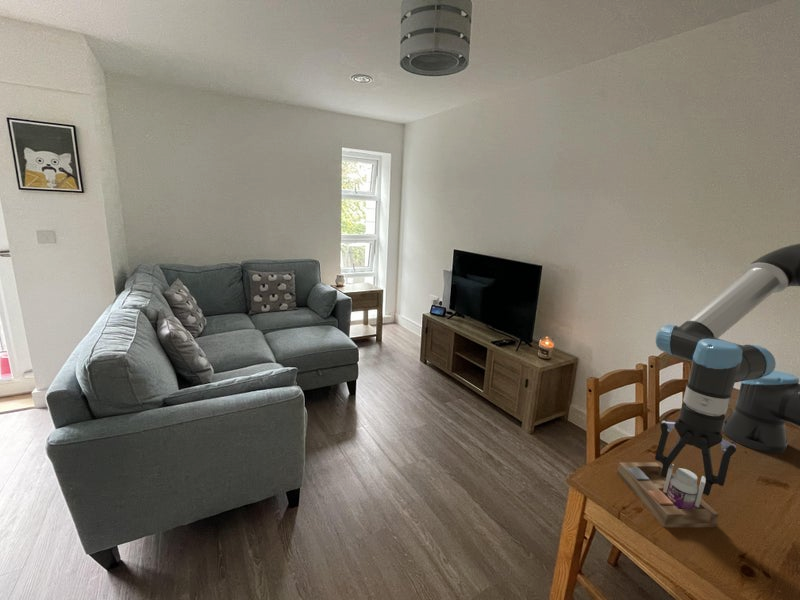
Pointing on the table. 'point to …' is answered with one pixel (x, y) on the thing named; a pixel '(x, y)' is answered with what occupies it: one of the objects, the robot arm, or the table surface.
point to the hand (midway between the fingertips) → (681, 496)
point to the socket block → (663, 496)
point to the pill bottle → (683, 489)
